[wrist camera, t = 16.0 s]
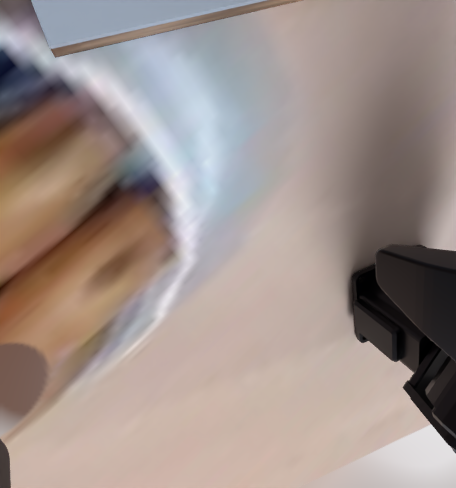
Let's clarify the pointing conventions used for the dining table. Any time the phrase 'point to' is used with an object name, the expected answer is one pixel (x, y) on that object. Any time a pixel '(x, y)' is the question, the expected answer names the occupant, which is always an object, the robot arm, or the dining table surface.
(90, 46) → the walnut box
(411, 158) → the dining table surface
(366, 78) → the dining table surface
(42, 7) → the slate flap
